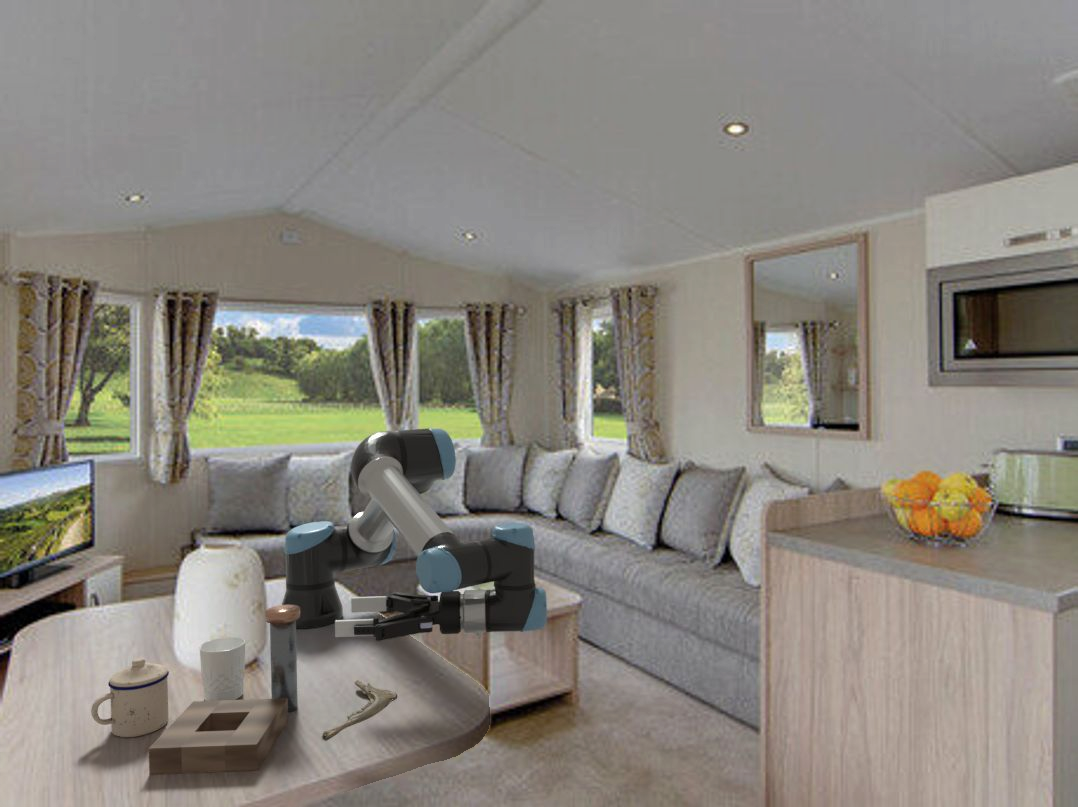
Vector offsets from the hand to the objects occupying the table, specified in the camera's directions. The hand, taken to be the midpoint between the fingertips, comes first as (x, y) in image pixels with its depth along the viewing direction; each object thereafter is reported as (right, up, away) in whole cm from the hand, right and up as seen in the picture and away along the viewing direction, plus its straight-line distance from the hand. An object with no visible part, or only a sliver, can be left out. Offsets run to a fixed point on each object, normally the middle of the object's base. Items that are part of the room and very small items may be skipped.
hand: (343, 616), depth 130 cm
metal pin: (-11, -17, 0) cm, 20 cm away
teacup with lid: (-34, -17, -7) cm, 39 cm away
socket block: (-16, -17, -13) cm, 27 cm away
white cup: (-24, -17, +6) cm, 30 cm away
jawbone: (+1, -17, -1) cm, 17 cm away
